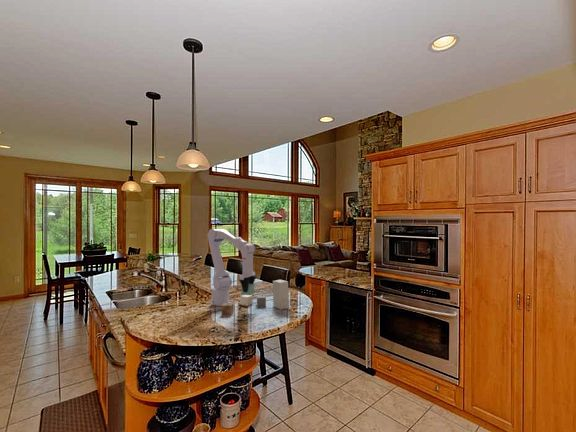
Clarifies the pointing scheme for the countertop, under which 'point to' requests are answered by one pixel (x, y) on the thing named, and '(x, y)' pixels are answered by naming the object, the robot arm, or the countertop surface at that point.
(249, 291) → the teal cube
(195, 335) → the countertop surface
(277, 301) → the skincare box
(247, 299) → the offwhite cube
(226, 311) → the walnut cube
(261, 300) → the charcoal cube
